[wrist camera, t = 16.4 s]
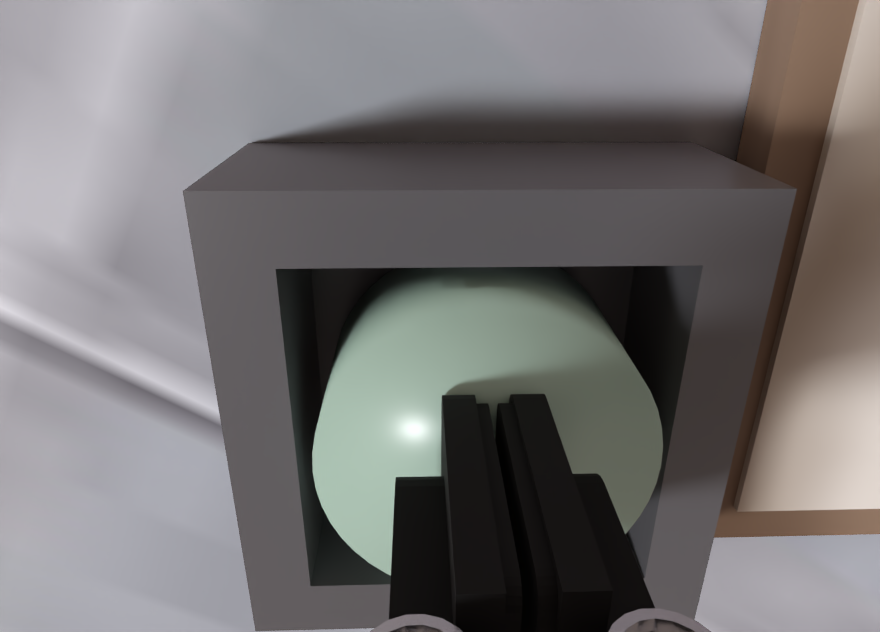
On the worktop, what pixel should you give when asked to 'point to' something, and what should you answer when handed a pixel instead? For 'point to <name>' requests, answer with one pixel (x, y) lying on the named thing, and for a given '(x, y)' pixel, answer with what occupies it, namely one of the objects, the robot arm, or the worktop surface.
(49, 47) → the worktop surface
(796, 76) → the sketch board
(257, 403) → the button housing
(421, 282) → the button
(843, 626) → the worktop surface
